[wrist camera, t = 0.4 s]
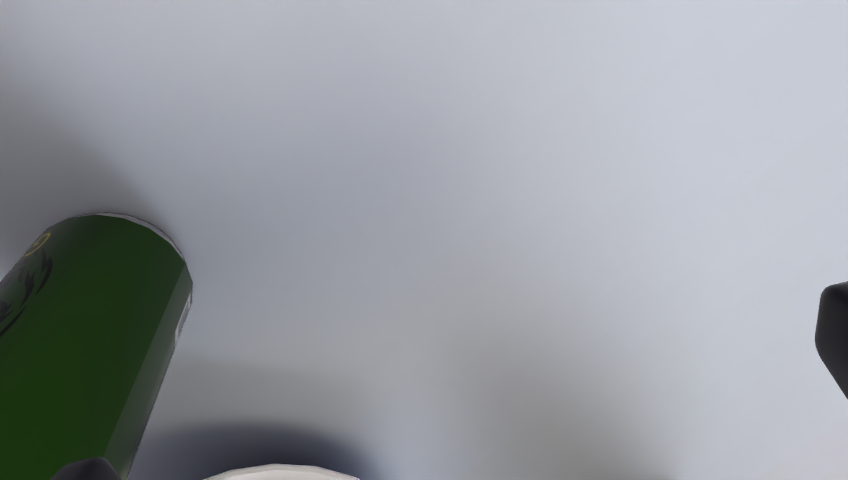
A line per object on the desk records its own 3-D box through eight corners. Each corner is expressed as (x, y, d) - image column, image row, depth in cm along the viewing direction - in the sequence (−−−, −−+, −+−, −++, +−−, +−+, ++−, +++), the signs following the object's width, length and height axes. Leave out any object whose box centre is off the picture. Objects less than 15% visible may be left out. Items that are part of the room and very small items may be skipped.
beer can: (211, 228, 22) (86, 549, 11) (182, 345, 24) (57, 698, 14) (42, 184, 20) (-276, 505, 10) (29, 313, 23) (-238, 679, 12)
